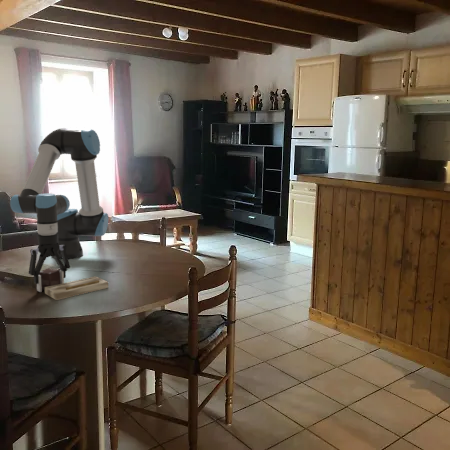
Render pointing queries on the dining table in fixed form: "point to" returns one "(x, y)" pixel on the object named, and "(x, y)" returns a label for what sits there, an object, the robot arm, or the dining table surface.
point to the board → (75, 288)
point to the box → (49, 277)
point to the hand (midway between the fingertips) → (50, 288)
